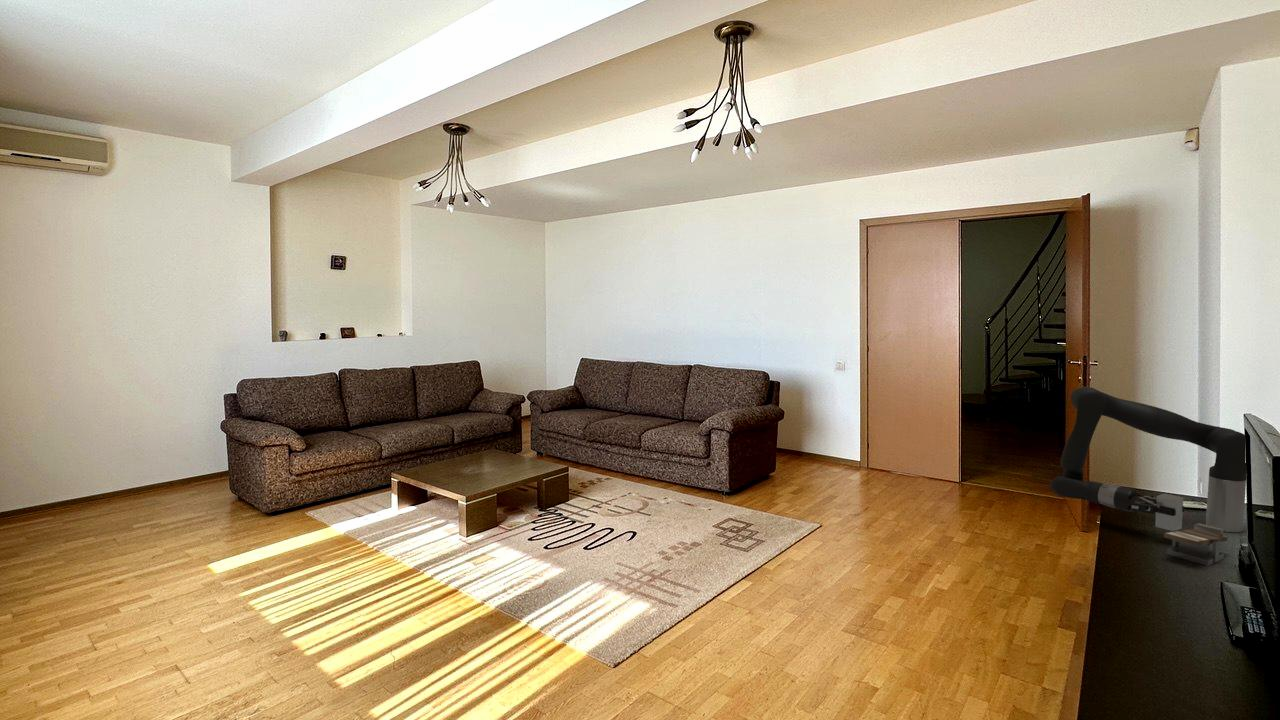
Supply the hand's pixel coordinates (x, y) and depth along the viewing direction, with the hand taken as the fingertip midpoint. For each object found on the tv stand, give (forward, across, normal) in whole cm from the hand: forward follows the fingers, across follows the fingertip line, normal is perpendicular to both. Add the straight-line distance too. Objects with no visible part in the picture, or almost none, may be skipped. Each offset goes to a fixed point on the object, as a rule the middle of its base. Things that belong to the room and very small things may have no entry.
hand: (1179, 511), depth 201 cm
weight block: (-3, 0, +6) cm, 7 cm away
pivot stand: (+7, -7, +11) cm, 15 cm away
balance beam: (+7, -7, +5) cm, 11 cm away
